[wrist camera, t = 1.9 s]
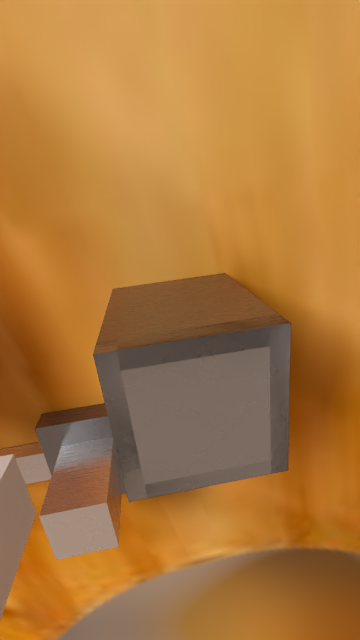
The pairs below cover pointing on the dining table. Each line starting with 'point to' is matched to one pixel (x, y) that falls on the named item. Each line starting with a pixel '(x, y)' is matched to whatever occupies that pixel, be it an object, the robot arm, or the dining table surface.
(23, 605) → the dining table surface
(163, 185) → the dining table surface
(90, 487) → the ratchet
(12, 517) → the robot arm
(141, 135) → the dining table surface
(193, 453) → the rimmed grey cube
